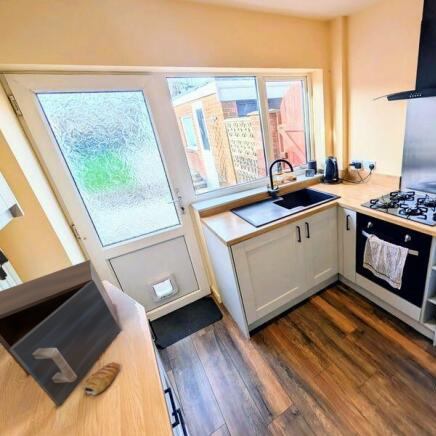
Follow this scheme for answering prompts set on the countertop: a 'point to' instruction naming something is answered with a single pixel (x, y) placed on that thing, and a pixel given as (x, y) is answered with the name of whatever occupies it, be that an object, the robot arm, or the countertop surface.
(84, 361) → the door
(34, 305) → the cupboard
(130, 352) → the countertop surface
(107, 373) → the pastry
